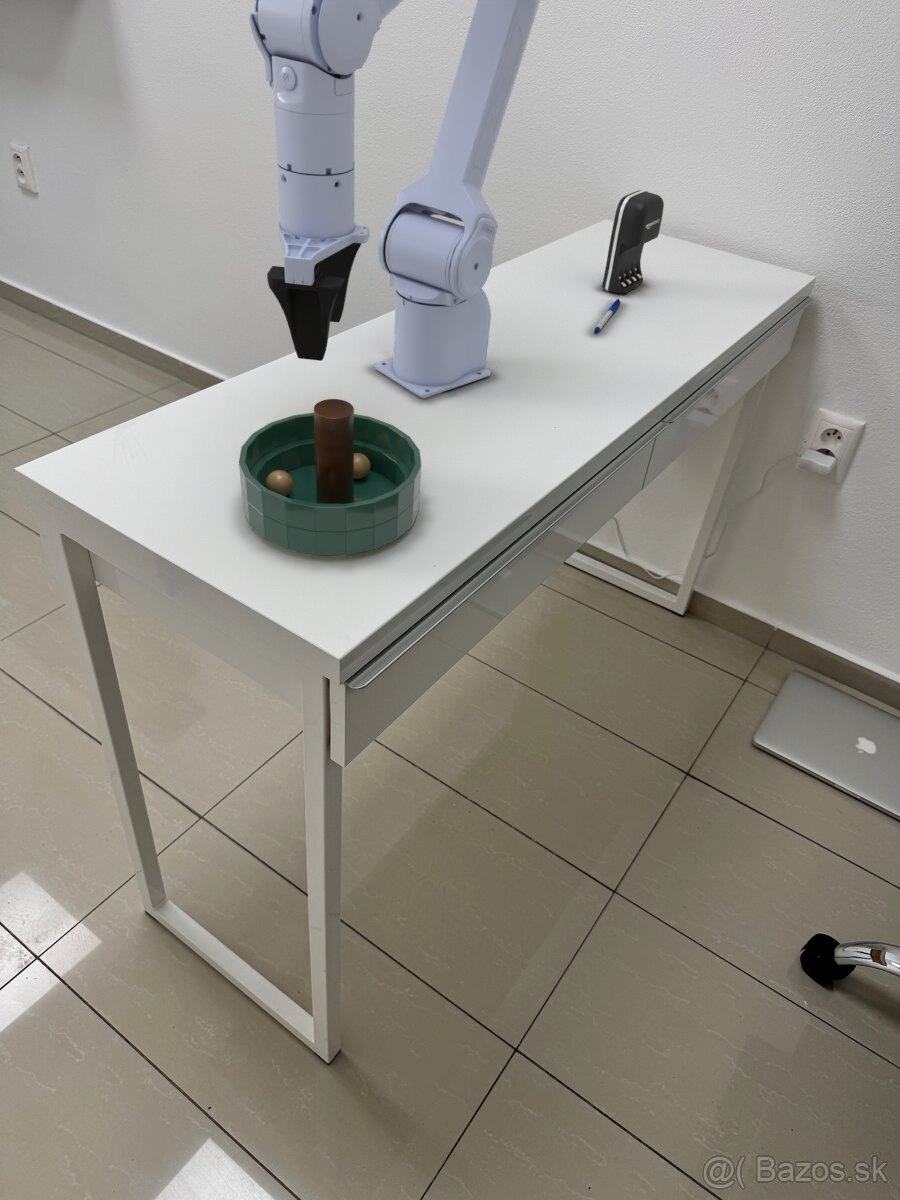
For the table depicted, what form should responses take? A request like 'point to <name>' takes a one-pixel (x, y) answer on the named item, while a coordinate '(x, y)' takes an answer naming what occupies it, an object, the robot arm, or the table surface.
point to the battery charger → (631, 239)
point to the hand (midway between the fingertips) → (320, 338)
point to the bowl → (297, 518)
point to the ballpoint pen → (607, 315)
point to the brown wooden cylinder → (334, 451)
